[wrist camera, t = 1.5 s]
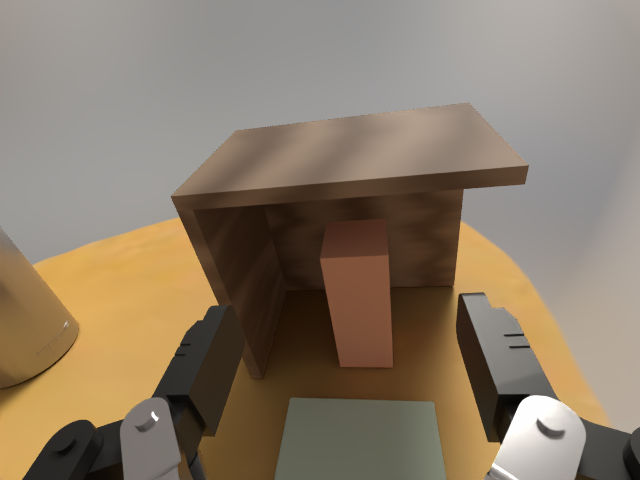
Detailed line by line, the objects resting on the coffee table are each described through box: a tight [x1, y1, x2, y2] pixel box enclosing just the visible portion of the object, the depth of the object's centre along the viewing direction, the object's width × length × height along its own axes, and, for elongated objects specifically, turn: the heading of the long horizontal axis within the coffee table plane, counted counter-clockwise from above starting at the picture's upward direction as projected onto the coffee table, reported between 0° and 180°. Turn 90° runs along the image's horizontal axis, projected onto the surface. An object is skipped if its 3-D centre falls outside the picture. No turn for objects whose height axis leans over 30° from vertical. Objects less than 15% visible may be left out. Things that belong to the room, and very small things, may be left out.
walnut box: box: [171, 103, 529, 378], centre depth 28 cm, size 19×12×18 cm, turn 83°
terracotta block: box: [320, 219, 393, 368], centre depth 27 cm, size 4×4×12 cm
